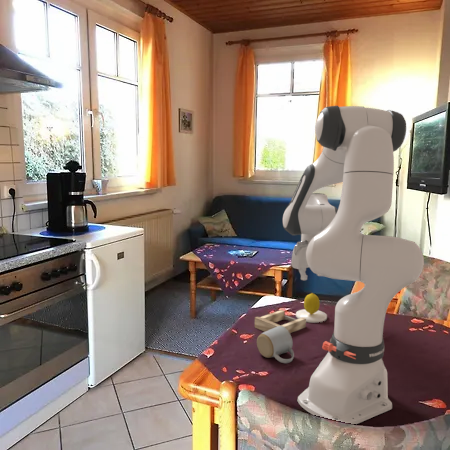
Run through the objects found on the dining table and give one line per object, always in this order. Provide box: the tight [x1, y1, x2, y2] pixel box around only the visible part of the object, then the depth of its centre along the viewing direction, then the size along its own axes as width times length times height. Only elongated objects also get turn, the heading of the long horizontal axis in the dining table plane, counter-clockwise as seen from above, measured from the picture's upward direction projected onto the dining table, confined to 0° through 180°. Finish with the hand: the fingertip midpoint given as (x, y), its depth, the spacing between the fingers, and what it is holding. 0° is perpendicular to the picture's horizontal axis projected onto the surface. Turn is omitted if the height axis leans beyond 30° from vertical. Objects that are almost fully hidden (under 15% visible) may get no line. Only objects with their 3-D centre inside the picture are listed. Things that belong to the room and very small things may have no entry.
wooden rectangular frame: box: [254, 309, 307, 334], centre depth 143 cm, size 14×11×4 cm
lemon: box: [303, 292, 321, 315], centre depth 152 cm, size 6×6×8 cm
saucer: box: [295, 308, 328, 324], centre depth 153 cm, size 11×11×1 cm
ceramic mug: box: [256, 326, 295, 364], centre depth 121 cm, size 11×8×8 cm
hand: (312, 277), depth 150 cm, fingers open, 8 cm apart
